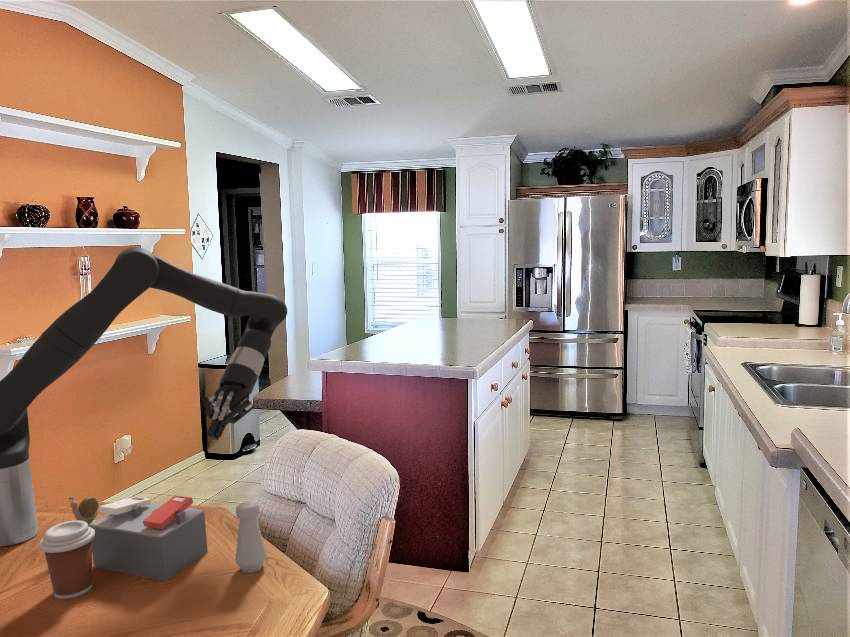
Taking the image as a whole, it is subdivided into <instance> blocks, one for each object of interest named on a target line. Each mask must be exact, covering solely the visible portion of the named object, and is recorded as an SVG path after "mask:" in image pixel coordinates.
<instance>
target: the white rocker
mask: <svg viewBox="0 0 850 637" xmlns="http://www.w3.org/2000/svg"><path fill="white" fill-rule="evenodd" d="M151 501H152V498H148V497H140V496H132V497H127V498H125V499H121V500H118V501H114V502H110V503H106V504H101V505H98V508H99V509H98V510H99V511H98V513H102V514H106V515H108V514H113V515H118V514H121V513H124V512H128V511H131V510H132V508H134V507H136V506H138V505H140V506H141V507H144V506H148V505H151V503H152V502H151Z"/></svg>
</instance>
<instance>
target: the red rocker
mask: <svg viewBox="0 0 850 637" xmlns="http://www.w3.org/2000/svg"><path fill="white" fill-rule="evenodd" d="M162 504H163V505H162V506H161V507H159V508H158V509H157V510H156V511H154V512H153V513H152V514H151V515H149V516H148V517H147V518H146V519H144V520H143V524H144V526H146V527H152V528H158V529H163V528H164V527H165V526H166V525H167V524H169V523H170V522H171V521H172V520H173V519H175V518H176V514H178V513H180V512H181V511H182V512H183V511H184V510H185V509H187V508H190V506H191V505H192V504H194V500H193V497H189V496H182V495H173V496H172V497H171V498H169V499H168V500H167V501H166V502H164V503H162Z"/></svg>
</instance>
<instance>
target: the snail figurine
mask: <svg viewBox="0 0 850 637" xmlns="http://www.w3.org/2000/svg"><path fill="white" fill-rule="evenodd" d="M68 499H69V501H70V504H69V506H70V507H71V510H72V513H73V515H74V518H75V520H76V521H77V520H79V521H85V522H86V523H88V527H89V524H91V523H93V522H95V521H97V520H98V519H96V517H97V516H98V514H99V511H98V510H99V509H98V508H99V502H98V499H97V498H96V497H94V496H87V497H85V498H83V499H82V500H81V501H80V503H78V501H77V500H74V499H75V496H69V497H68ZM71 500H72V501H71Z"/></svg>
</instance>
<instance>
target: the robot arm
mask: <svg viewBox="0 0 850 637" xmlns="http://www.w3.org/2000/svg"><path fill="white" fill-rule="evenodd" d="M149 289H156V290H160V291H163V292H167V293H170V294H173V295H176V296H178V297H180V298H183V299H185V300H187V301H189V302H191V303H193V304H195V305H198V306H200V307H201V308H205V309H207V310H209V311H212V312H215V313H218V314H221V315H224V316H227V317H229V318H234V319H239V318H241V317H243V316H244V317H245V316H247V317H248V316H249V317H248V320H247V322H246V326H245V327H244V328H245V329H244V332H243V335H242V336H241V338H240V340H239V342H238V345H237V347H236V349H235V350H234V352H233V353H232V355H231V357H229V358H230V359H229V361H228V363H227V364H226V367H225V369H224V371H223V374H222V376H221V378H220V380H219V387H218V388H217V389H216V390H215V392H214V394H213V395H212V396H210V397H208V396H204V397H203V398H202V402H203V406H204V410H205V415H206V417H207V418H209V420H210V421H211V423H210V425H209V428H208V429H207V432H206V434H207V437H208V438H209V439H210V440H213V441H214V440H215V441H218V440H219V439H220V438H221V437H222V435H223V433H224V431H225V428H226V427H227V426H228V425H229V424H232V425H235V424H236V423H237V422H238V421H240V420H241V419H242V418H243V417H245V416H246V415H247V414H249V412H251V411H253V409H254V408H255V404H253V403H252V401H251V400H250V395H251V394H252V393H253V391H254V388H255V386H256V384H257V381H258V379H259V376H260V374H261V372H262V370H263V366H264V362H265V360H266V357H267V356H268V353H269V351H270V350H271V349H270V348H271V344H272V336H273V334H274V332H275V331H276V329H277V327H279V325H280V324H282V322H283V321H285V319H286V317H287V316H288V308H287V305H286V304H285V302H284V301H283V300H282V299H281V298H279V297H277V296H274V295H273V294H270V293H264V292H257V291H251V290H250V291H247V290H242V289H240V288H237V287H235V286H232V285H229V284H226V283H223V282H221V281H217V280H216V279H211V278H209V277H205V276H203V275H199V274H197V273H193V272H191V271H188V270H186V269H183V268H181V267H178V266H176V265H174V264H171V263H170V262H167V261H166V260H164V259H162V258H160V257H159V256H156V255H155V254H153V253H152V252H150V251H149V250H147V249H146V248H143V247H135V246H134V247H129V248H126V249H124V250H122V251H121V252H120V253H119V254H118V255H117V257H116V258H115V260H114V262H113V265H111V267H110V269H109V270H108V271H107V273H106V274H105V275H104V277H102V279H101V280H100V281H99V282H98V283H97V284H96V286H95V287H94V288H93V289H92V290H91V291H90V292H89V293H88V294H86V295H85V296H84V297H82V298H81V299H80V300H78V301H77V302H75V303H74V304H73V305H71V306H70V307H68V309H67V310H65V311H64V312H63V313H62V314H60V315H59V316H58V317H57V318H55V320H54V321H53V322H52V323H51V324H50V325H49V326H48V327H47V328H46V329H45V330H44V331H43V332H42V333H41V335H39V337H38V338H37V339H36V340H35V341H34V343H33V344H32V345H31V346H30V347H29V348H28V350H26V351H25V353H24V354H23V355H22V357H21V358H20V359H19V361H18V362H17V363H16V365H15V366H14V367H13V368H12V369H11V370H10V371H9V372H8V373H7V374H6V375H5V376H4V377H3V378H2V379H1V380H0V547H8V546H13V545H17V544H21V543H24V542H26V541H29V540H30V539H31V538H32V539H33V537H36V536H37V535H38V532H39V528H38V520H37V519H38V518H37V517H38V516H37V508H36V501H35V494H34V486H33V485H34V484H33V475H32V469H31V460H30V459H31V458H30V455H29V454H30V452H29V450H30V444H31V443H30V442H31V438H30V436H31V435H30V434H31V433H30V425H29V423H30V422H29V413H28V408H29V406H30V405H31V404H32V403H33V401H34V400H36V398H38V396H40V394H41V393H42V392H43V391H44V390H46V388H48V387H49V386H50V385H52V384H53V383H54V382H56V381H57V380H58V379H59V378H60V377H62V376H63V375H65V373H67V372H68V371H69V370H70V369H71V368H72V367H73V366H75V364H77V363H78V362H79V361H80V360H81V359H82V358H83V357H84V356H85V355H86V354H87V353H88V351H89V350H90V349H92V347H93V346H94V345H95V344H96V343H97V341H99V339H100V338H101V337H102V336H103V335H104V334H105V333H106V331H107V330H108V328H110V325H112V323H113V322H114V321H115V319H116V318H117V317H118V316H119V315H120V314H121V313H122V311H123V310H125V309H126V308H127V307H128V306H129V305H130V304H131V303H132V302H134V301H135V300H136V299H137V298H139V297H140V296H141V295H142V294H144V293H145V292H146V291H147V290H149Z"/></svg>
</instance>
